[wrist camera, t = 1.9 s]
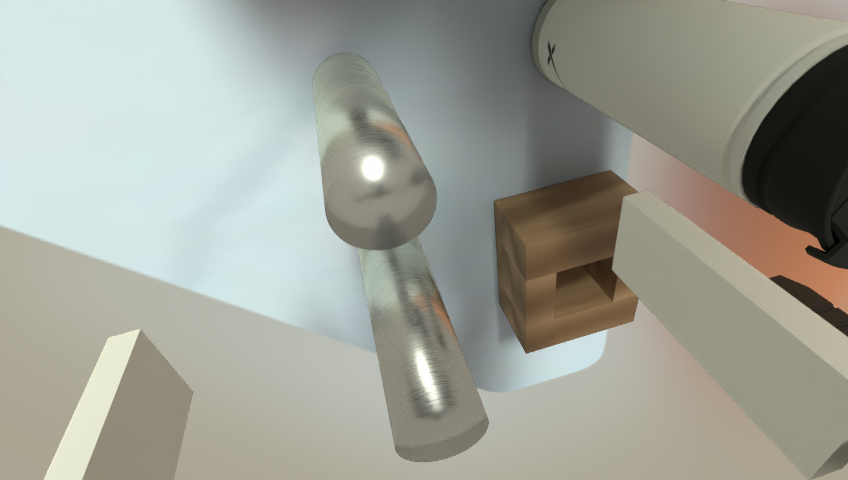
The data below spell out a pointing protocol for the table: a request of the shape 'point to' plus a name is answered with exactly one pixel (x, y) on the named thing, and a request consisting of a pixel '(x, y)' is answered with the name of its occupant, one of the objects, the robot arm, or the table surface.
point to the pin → (367, 159)
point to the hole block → (562, 260)
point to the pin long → (419, 357)
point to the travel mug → (719, 96)
